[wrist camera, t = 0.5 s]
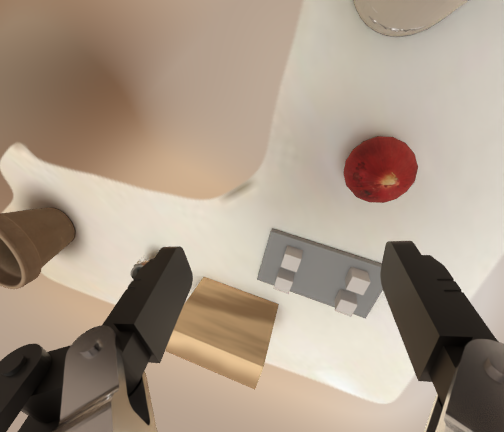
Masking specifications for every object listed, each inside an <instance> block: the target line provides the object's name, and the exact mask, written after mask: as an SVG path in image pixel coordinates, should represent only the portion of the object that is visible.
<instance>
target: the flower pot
mask: <svg viewBox="0 0 504 432" xmlns="http://www.w3.org/2000/svg"><path fill="white" fill-rule="evenodd" d="M74 236H75V230H74V227H73V224H72V222H71V221H70V219H69V218H68V217H67V216H66V215H65V214H64V213H63V212H62V211H60V210H58V209H55V208H41V209H32V210H24V211H17V212H10V213H1V214H0V286H3V287H5V288H10V289H18V288H21V287H23V286H24V285H26V284H27V283H29V282H31V281H33V280H34V279H36V278H37V277H38V276H39V274H40V272H41V268H42V267H43V266H44V265H45V264H46V263H47V262H48V261H49V260H51V259H52V258H53V257H54V256H55V255H57V254H58V253H59V252H60V251H61V250H63V249H64V248H65V247H66V246H67V245H68V244H69V243H70V242H71V241H72V240H73V239H74Z"/></svg>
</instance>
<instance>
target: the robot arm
mask: <svg viewBox="0 0 504 432" xmlns="http://www.w3.org/2000/svg"><path fill="white" fill-rule="evenodd" d="M467 1H469V0H354V5H355V7H356V9H357V12H358V14H359V16H360V17H361V19H362V20H363V21H364V22H365V23H366V24H367V26H369V27H370V28H372V29H373V30H375V31H376V32H378V33H381V34H384V35H388V36H406V35H412V34H415V33H418V32H421V31H423V30H426V29H428V28H430V27H431V26H433V25H435V24H436V23H438V22H440V21H441V20H442V19H444V18H445V17H447V16H448V15H449V14H451V13H452V12H453V11H455V10H456V9H457V8H459V7H460V6H462V5H463V4H465V3H466V2H467ZM380 278H381V285H382V288H383V291H384V293H385V296H386V298H387V301H388V304H389V306H390V309H391V311H392V314H393V317H394V319H395V322H396V324H397V327H398V329H399V332H400V335H401V337H402V340H403V342H404V345H405V348H406V350H407V353H408V355H409V358H410V360H411V363H412V366H413V368H414V371H415V373H416V376H417V379H418V381H428V382H433V384H434V387H435V389H436V392H437V395H436V397H435V400H434V403H433V406H432V409H431V412H430V415H429V418H428V421H427V424H426V427H425V430H424V432H504V344H502V343H500V342H498V341H497V339H496V338H495V337H494V335H493V334H492V333H491V331H490V330H489V328H488V327H487V326H486V324H485V323H484V321H483V320H482V318H481V317H480V316H479V314H478V313H477V312H476V310H475V309H474V307H473V306H472V304H471V303H470V302H469V300H468V299H467V297H466V296H465V294H464V293H462V292H461V289H460V287H459V286H458V285H457V283H456V282H454V281H453V278H452V276H451V275H450V273H449V272H448V270H447V269H446V268H445V266H444V265H442V264H441V263H440V262H438V261H437V260H436V259H434V258H433V257H432V256H430V255H421V254H420V252H419V250H418V249H417V247H416V246H415V244H414V243H413V242H412V241H389V242H387V243H386V246H385V251H384V256H383V261H382V266H381V272H380ZM192 280H193V276H192V271H191V268H190V266H189V263H188V261H187V258H186V255H185V253H184V250H183V248H182V247H163V248H161V249H160V251H159V252H158V254H157V255H156V257H155V258H154V259H151V260H150V261H149V262H147V263H146V264H145V265H144V266H143V267H142V268H140V270H139V271H138V273H137V274H136V276H135V277H134V280H133V281H132V282H131V283H130V285H129V286H128V289H127V290H126V291H125V292H124V294H123V295H122V297H121V298H120V300H119V301H118V303H117V304H116V305H115V307H114V309H113V310H112V311H111V313H110V314H109V316H108V317H107V319H106V320H105V322H104V323H103V325H102V326H97V327H94V328H92V329H90V330H88V331H86V332H85V333H83V334H82V335H81V336H79V337H78V338H77V339H76V340H75V341H74V342H73V344H72V345H71V346H67V347H63V348H60V349H57V350H53V351H49V352H46V351H45V350H44V349H43V348H42V347H41V346H40V345H38V344H28V345H25V346H23V347H20V348H18V349H16V350H15V351H13V352H11V353H10V354H8V355H7V356H6V357H5V358H4V359H2V360H1V361H0V432H6V431H7V430H8V428H9V427H10V425H11V424H12V423H13V421H14V420H15V418H16V417H17V415H18V414H19V412H20V411H22V412H24V413H25V414H27V415H28V417H27V419H26V420H25V422H24V423H23V425H22V426H21V428H20V429H19V431H18V432H158V431H157V428H156V424H155V419H154V413H153V408H152V403H151V398H150V393H149V387H148V383H147V377H146V373H145V372H144V370H145V368H146V366H147V364H148V362H151V363H160V361H161V359H162V357H163V354H164V352H165V349H166V347H167V345H168V342H169V340H170V337H171V335H172V332H173V330H174V327H175V325H176V323H177V320H178V318H179V315H180V313H181V310H182V308H183V305H184V303H185V301H186V298H187V296H188V293H189V291H190V288H191V286H192Z"/></svg>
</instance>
